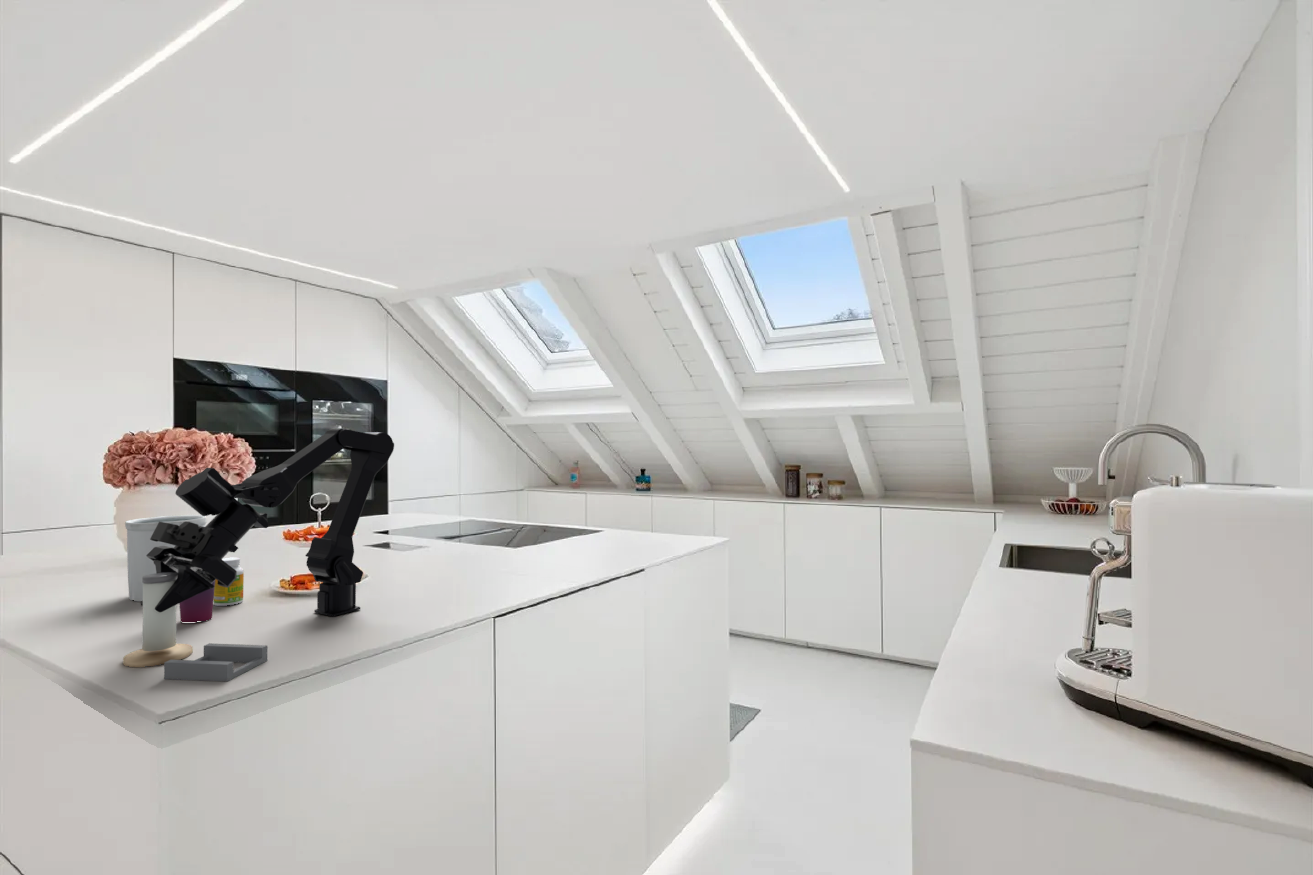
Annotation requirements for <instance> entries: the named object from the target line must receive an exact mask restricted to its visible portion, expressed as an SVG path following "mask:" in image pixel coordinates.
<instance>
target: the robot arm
mask: <svg viewBox="0 0 1313 875" xmlns="http://www.w3.org/2000/svg"><path fill="white" fill-rule="evenodd" d="M394 449H395V443H394V441H393V439H392V436H390V435H389V434H388V433H386V432H378V431H376V432H375V431H374V432H372V431H371V432H370V431H368V432H367V431H366V432H361V431H357V430H356V431H355V430H351V429H349V428H346V427H332V428H330V429H328V430H326V431H325V433H324V434H323V435H321V436H319V437H318V438H317V439H314V441H313V442H311V443H309V444H308V445H307V446H305V447H303V448H302V449H301V450H299V451H297V453H295V454H293V455H292V456H290V457H289V458H288V459H287V460H285V461H284V462H282V463H280V464H278V465H276V466H273V467H270V468H267V469H264V470H262V471H258V472H257V473H255V474H253V475H250V476H248V477H246V478H245V479H244V480H243V481H242V482H241V483H237V484H231V483H230V482H229V481H227V479H225V478H224V477H223V476H222V475H221V474H220V472H219V471H217V469H215V468H214V467H205V469H203V471H201V472H198V473H197V474H196V473H195V474H194V475H192V476H191V477H190V478H188V479H185V480H183V482H182V483H181V484H180V485H179V486H178V487H177V488H176V491H175V495H176V496H177V497H178V498H179V499H180V500H182V501H183V502H184V503H186V504H187V505H188V506H189V507H191V508H192V509H193V510H194V511H195V512H196V513H198V515H202V516H206V517H207V516H214V517H213V518H212V519H211V520H210V521H209V522H208V523H207V524H205V527H202V526H199V525H198V524H195V523H191V522H183V523H182V524H181V525H180V526H178V525H175V524H170V523H164V522H159V523H158V525H157V527H156V529H155V530H154V532H153V534H152V536H151V538H150V540H152V541H156V542H158V541H159V542H164V543H168V544H172V545H175V547H174V548H172V547H167V546H159V547H154V548H153V549H152V550H151V551H150V552H149V553H148V554H147V555H146V556H147V557H148V558H149V559H151V560H152V561H154V564H155V566H156V573H167V572H173V573H178V578H177V580H176V581H175V582H174V583H173V585H172V586H171V587H170V589H169V590H168V591H167V592H166V594H165V595H164V596H163V597H162V599H161V600H160V601H159V603H158V604H157V606H156V607H155V610H156V611H158V612H163V611H165V610H167V609H169V608H171V607H173V606H175V605H180V603H181V602H183V601H185V600H187V599H189V598H191V597H193V596H195V595H197V594H200V593H202V592H204V591H206V590H208V589H213V588H214V587H215V586H214V585H213V584H212V583H213V582H214V581H215V580H218V583H217V584H218V585H219V586H223V587H227V588H228V587H229V586H230V585H231V584H232V583H233V582H234V581H235V580H236V573H237V571H236V570H235V569H233V568H232V567H231V566H229V565H228V564H227V563H226V562H224V561H223V560H222V559H223V558H225V556H226V555H227V554H228V553H229V552H230V553H236V551H237V550H239V547H238V546H237V544H238V542H239V541H241V539H243V537H245V535H246V534H247V533H248V532H249V531H250V530H251V529H252V528H253V526H254V527H255V528H261V529H262V528H263V529H267V528H268V527H269V521H268V513H266V512H258V511H257V510H256V509H255V508H254V507H262V508H268V509H269V508H270V509H271V508H276V507H278V506H280V505H281V504H283V503H284V502H285V501H286V499H288V498H289V497H290V495H292V493H293V492H294V491H295V488H296V487H297V485H298V484H299V483H300V481H302V479H304V478H305V477H306V476H308V475H309V474H310V473H311V472H313V471H315V470H316V469H317V468H319V467H320V466H321V465H322V464H324V463H326V462H327V461H328V460H330V459H331V458H332V457H334V456H335V455H336V454H337V453H339V452H340V451H342V450H345V451H350V452H349V454H350V455H349V456H350V457H349V458H350V463H351V469H350V473H349V475H348V477H347V480H346V482H345V485H344V488H343V491H342V492H341V493H342V494H341V496H340V499H339V501H338V503H337V505H336V509H335V512H334V513H333V517H332V518H331V521H330V522H331V523H330V524H329V528H328V529H327V531H326V532H325V534H323V535H322V537H318V536H317V537H313V538H312V540H311V543H310V547H309V550H308V552H307V553H306V554H305V557H307V559H306V567H307V568H308V571H309V572H310V573H311V574H312V575H313V578H314V581H315V582H320V583H319V588H318V590H319V591H317V596H316V598H317V601H316V602H317V604H316V605H317V607H316V608H315V609H314V611H313V612H314V613H317V614H321V615H325V616H328V617H329V616H330V617H337V616H340V615H344V614H347V613H352V612H356V611H359V610H361V606H358V605H357V604H356V601H357V597H356V596H357V595H356V594H357V583H361V582H362V579H363V575H364V572H363V571H362V570H361V569H360V567H358V566H357V565H356V564H355V563H354V562H353V559H354V554H355V548H354V542H353V537H354V534H355V531H356V528H357V525H358V522H359V520H360V518H361V515H362V512H363V509H364V507H365V503H366V501H367V498H368V495H369V493H370V491H371V487H372V484H373V482H374V480H375V477H376V475H377V473H378V472H380V471H381V470H382V468H383V467H384V466H385V465H386V464H387V463H388V461H389V460H390V458H391V456H392V454H393V452H394ZM238 499H240V500H241V501H242V502H243V503H241V502H240V501H238ZM139 605H140V606H141V607H142V608H143V600H142V602H141V601H140V604H139Z"/></svg>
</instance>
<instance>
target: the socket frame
mask: <svg viewBox="0 0 1313 875" xmlns="http://www.w3.org/2000/svg"><path fill="white" fill-rule="evenodd" d="M267 661H268V645H266V644H265V645H264V644H244V643H243V644H239V643H237V644H236V643H210V642H209V643H207V644H205V645H203V656H201V657H199V658H196V659H194V660H193V659H191V660H190V659H189V660H188V659H182V660H169V661H166V662H164V664H163V665H164V667H163V668H164V669H163V671H164V672H163V673H164V674H163V676H164V677H163V679H164V680H180V679H181V680H182V681H183V680H184V681H185V680H187V681H205V682H206V681H207V682H208V681H209V682H210V681H212V682H213V681H214V682H229V681H230V680H232V679H234V678H237V677H238V676H240V675H242V674H244V673H246V672H248V671H249V670H252V669H254V668H256V667H258V666H259V665H262V664H263V663H265V662H267ZM234 663H244V664H242V665H241V666H239V667H236V668H235V669H234Z"/></svg>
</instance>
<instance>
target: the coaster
mask: <svg viewBox="0 0 1313 875" xmlns="http://www.w3.org/2000/svg"><path fill="white" fill-rule="evenodd" d="M191 653H192V654H193V646H192V645H191V644H187V643H176V645H175V646H173V647H171V648H168V649H164V650H158V651H143V650H142V648H140V649H137V650H134V651H132V652H129V653H127V654H125V655H124V656H123V658H122V664H123V665H124V666H125V667H127V666H129V668H146V667H145V666H151V667H156V666H155V665H158V666H161V665H160V664H163V665H164V662H166V661H169V660H181V659H182V660H185V659H186V658H188V657H190V656H191V655H192V654H191ZM190 654H191V655H190ZM189 655H190V656H189Z"/></svg>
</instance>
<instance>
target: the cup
mask: <svg viewBox="0 0 1313 875" xmlns="http://www.w3.org/2000/svg"><path fill="white" fill-rule="evenodd" d="M212 584H213V585H214V586H215V581H214V582H213V583H212ZM214 588H215V587H214ZM214 588H213V589H208V590H206V591H204V592H202V593H200V594H197V595H195V596H193V597H191V598H189V599H187V600H185V601H183V602H181V603H179V616H180V617H179V618H180V622H181V621H182V622H197V621H205V622H207V621H206V620H208V621H210V620H212V619H213V609H214ZM211 618H212V619H211ZM209 619H210V620H209Z"/></svg>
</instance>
